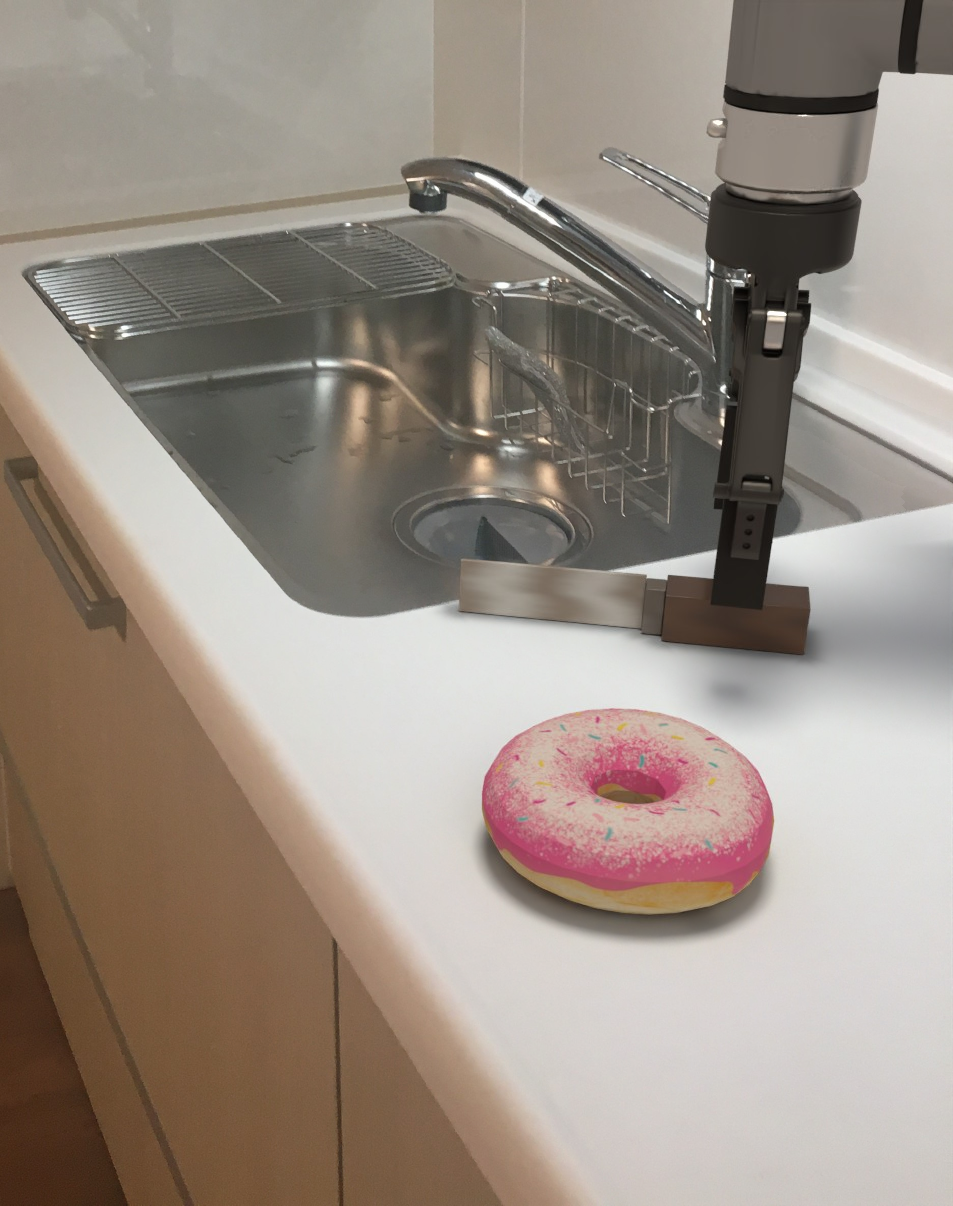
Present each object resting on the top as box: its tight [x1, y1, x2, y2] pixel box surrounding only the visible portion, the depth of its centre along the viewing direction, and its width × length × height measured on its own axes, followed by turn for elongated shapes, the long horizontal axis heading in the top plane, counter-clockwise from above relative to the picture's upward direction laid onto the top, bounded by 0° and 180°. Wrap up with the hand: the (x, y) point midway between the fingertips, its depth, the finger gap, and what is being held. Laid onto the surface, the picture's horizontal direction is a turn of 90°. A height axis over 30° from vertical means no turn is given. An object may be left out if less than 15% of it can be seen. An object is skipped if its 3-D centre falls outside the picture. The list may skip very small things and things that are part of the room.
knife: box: [458, 557, 812, 656], centre depth 99 cm, size 20×3×4 cm, turn 73°
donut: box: [481, 708, 775, 915], centre depth 78 cm, size 14×13×5 cm
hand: (736, 554), depth 96 cm, fingers open, 13 cm apart
